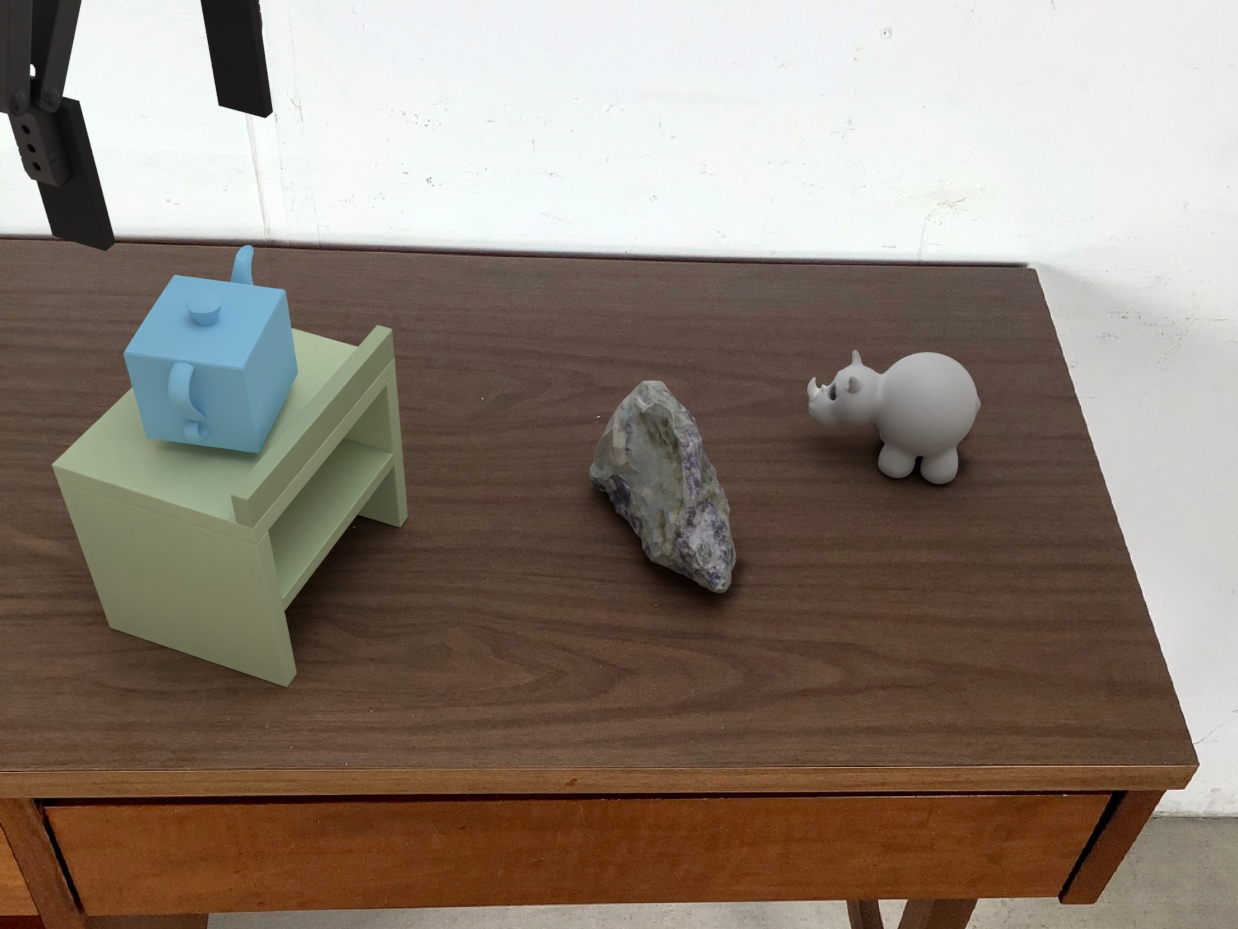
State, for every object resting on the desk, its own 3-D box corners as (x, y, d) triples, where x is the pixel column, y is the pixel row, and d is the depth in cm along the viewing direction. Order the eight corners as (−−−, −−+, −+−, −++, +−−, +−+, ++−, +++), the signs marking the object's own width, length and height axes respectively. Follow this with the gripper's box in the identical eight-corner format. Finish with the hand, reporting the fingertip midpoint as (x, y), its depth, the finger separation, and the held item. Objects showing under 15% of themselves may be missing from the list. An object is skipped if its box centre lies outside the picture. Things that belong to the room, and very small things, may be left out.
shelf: (109, 628, 77) (40, 434, 66) (249, 467, 87) (209, 277, 76) (287, 688, 75) (247, 499, 64) (408, 517, 85) (392, 328, 74)
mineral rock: (727, 618, 81) (749, 502, 74) (561, 592, 82) (566, 475, 74) (744, 485, 90) (765, 369, 82) (594, 463, 90) (602, 345, 83)
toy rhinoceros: (801, 408, 96) (821, 312, 90) (959, 436, 96) (991, 341, 89) (791, 469, 92) (812, 372, 85) (957, 499, 91) (990, 403, 84)
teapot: (216, 337, 75) (192, 222, 70) (317, 351, 75) (301, 237, 70) (139, 469, 67) (105, 352, 62) (252, 485, 67) (228, 368, 62)
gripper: (-106, -292, 36) (79, 330, 52) (322, -429, 52) (363, 80, 68) (-322, -340, 38) (-76, 283, 54) (161, -459, 54) (239, 48, 70)
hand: (171, 170), depth 61 cm, fingers open, 13 cm apart
